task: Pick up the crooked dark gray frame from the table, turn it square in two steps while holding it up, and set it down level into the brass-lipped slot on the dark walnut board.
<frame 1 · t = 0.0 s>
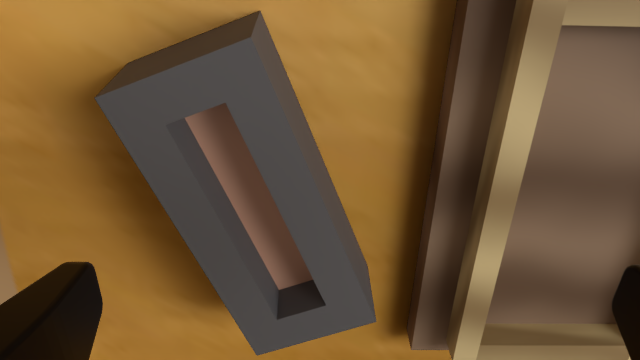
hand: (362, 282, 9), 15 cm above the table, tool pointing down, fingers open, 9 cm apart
dark gray frame: (261, 176, 25), on the table
walnut board: (573, 180, 25), on the table
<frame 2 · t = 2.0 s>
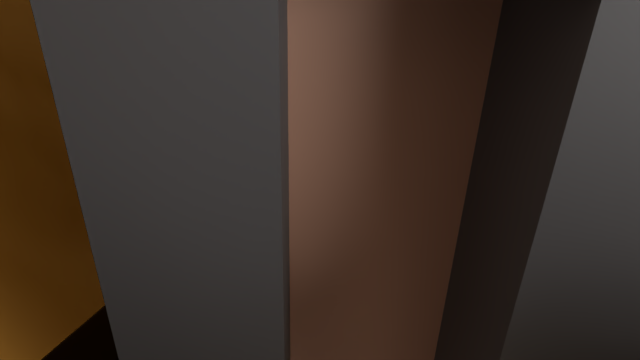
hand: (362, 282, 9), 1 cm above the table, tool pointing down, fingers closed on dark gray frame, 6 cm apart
dark gray frame: (356, 238, 10), on the table, touching gripper
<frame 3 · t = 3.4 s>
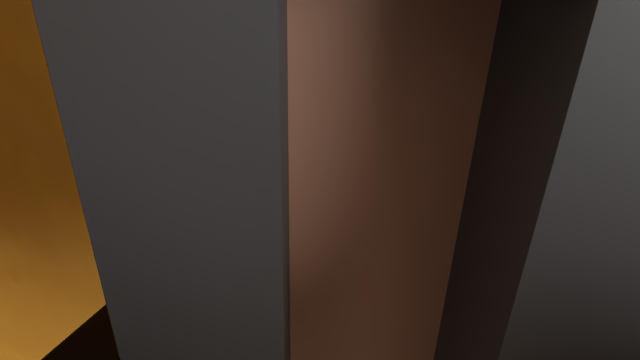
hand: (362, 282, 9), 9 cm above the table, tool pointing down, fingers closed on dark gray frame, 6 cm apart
dark gray frame: (355, 237, 10), point 8 cm above the table, touching gripper
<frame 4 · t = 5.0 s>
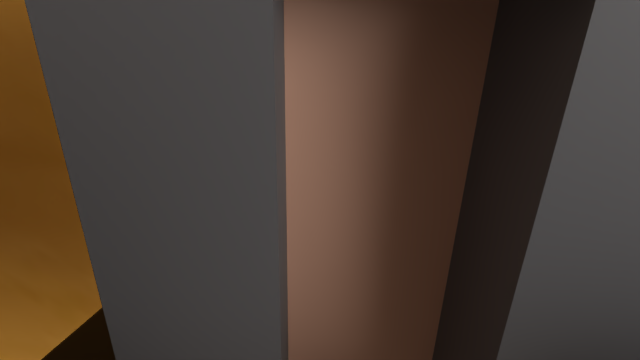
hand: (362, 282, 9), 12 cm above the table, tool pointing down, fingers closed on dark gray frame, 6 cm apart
dark gray frame: (354, 236, 10), point 10 cm above the table, touching gripper
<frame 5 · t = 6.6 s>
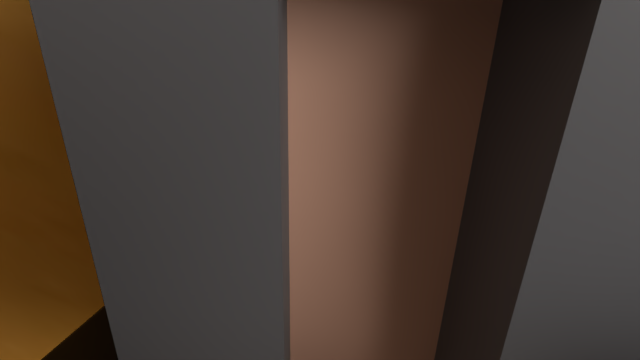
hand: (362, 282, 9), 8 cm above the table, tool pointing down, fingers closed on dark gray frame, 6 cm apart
dark gray frame: (356, 236, 10), point 7 cm above the table, touching gripper
when the fingers open (4 cm above the table, at t = 7.9 s): dark gray frame drops 1 cm, resting on walnut board.
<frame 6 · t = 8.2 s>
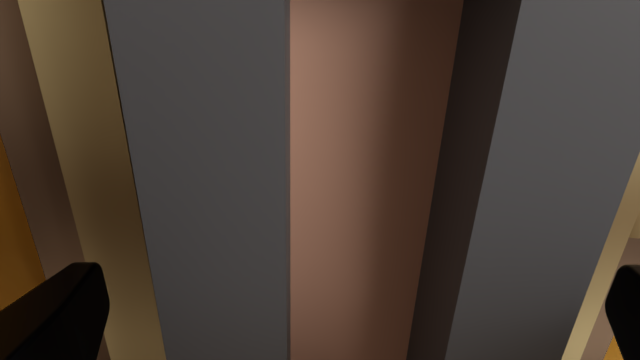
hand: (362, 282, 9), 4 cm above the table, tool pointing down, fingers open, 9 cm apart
dark gray frame: (349, 195, 11), point 1 cm above the table, touching walnut board
walnut board: (347, 163, 12), on the table
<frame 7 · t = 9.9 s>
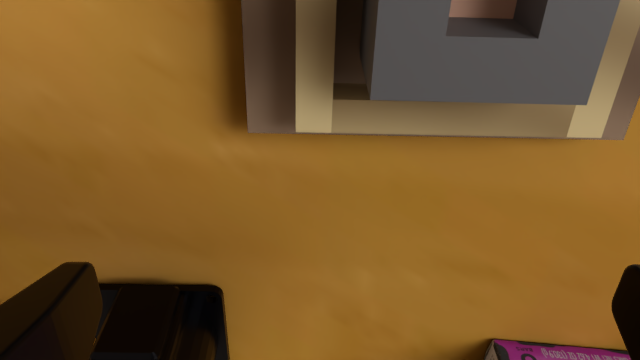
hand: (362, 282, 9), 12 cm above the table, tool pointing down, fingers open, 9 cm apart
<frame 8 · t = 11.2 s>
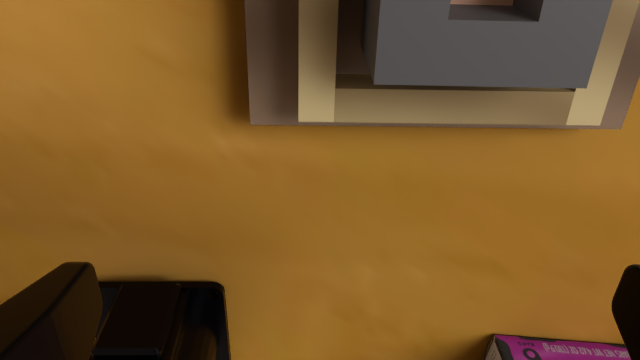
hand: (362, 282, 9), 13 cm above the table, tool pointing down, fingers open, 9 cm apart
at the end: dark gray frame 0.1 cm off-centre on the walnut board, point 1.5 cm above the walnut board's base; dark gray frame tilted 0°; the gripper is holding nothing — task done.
